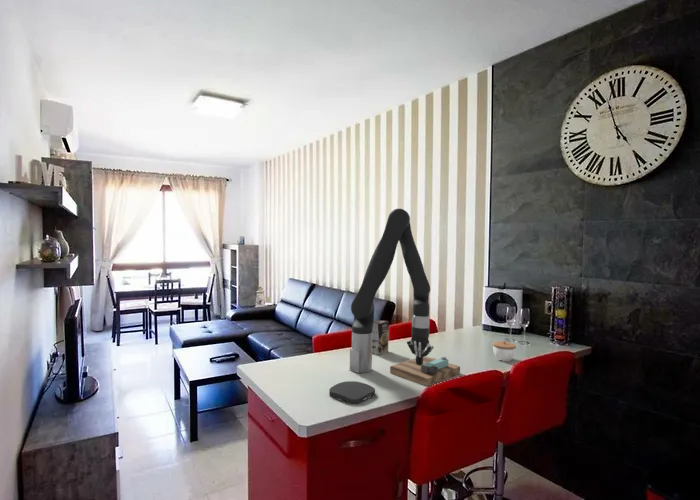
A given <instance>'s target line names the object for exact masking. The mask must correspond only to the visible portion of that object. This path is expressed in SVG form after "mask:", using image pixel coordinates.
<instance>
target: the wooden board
mask: <svg viewBox="0 0 700 500" xmlns="http://www.w3.org/2000/svg"><path fill="white" fill-rule="evenodd" d="M434 360H437V359H436V358H432V357H429V356H425V357H423V364H425V363H428V362H431V361H434ZM389 369H390V371H389V374H392V375H395V376H397V375H398V377H401V378H403V379H406V380H408V379H409V380H408V381H411V382H414V383H417V384H419V383H420V385H423V386H425V387H428V386H431V385H434V384H437V383H438V382H442V381H444V380H446V379H449V378H451V377H455V376H457V375H459V374H460V373H461V366H459V365H456V364H452V363H449V362H448V366H447V367H444V368H441V369H439V370H438V367H435V366H432V367H429V368H428V374H426V373H423V372H421V365H420V366H419V365H417V363H416V357H415V358H413V359H410V360H409V359H408V360H407V361H402V362H400V363H397V364H392V365H390V366H389ZM436 382H437V383H436ZM433 383H434V384H433Z"/></svg>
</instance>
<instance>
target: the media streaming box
mask: <svg viewBox="0 0 700 500" xmlns="http://www.w3.org/2000/svg"><path fill="white" fill-rule="evenodd" d="M328 390H329V392H328V393H329V397H330V398H332V399H334V400H337V401H340V402H342V403H345V404H347V405H360V404H363V403H364V402H367V401H368V399H369V400H371V399H372V398H374V397H376V388H375V387H373V386H372V385H369V384H367V383H364V382H361V381H355V380H354V381H353V380H352V381H351V380H349V381H348V380H347V381H342V382H338V383H336V384H334V385H333V386H331V387H330V388H329V389H328ZM373 396H374V397H373ZM371 397H372V398H371Z"/></svg>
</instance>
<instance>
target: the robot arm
mask: <svg viewBox="0 0 700 500" xmlns="http://www.w3.org/2000/svg"><path fill="white" fill-rule="evenodd" d="M398 244H399V245H400V248H401V253H402V257H403V261H404V264H405V266H406V269H407V270H406V271H407V272H408V276H409V277H410V282H411V284H412V288H413V289H412V290H413V292H412V293H413V304H412V317H411V338H410V340H408V341H406V344H407V346H408V348H409V349H410V351H411V352H410V353H412V354H413V355H415V358H416V363H417V365H419V366H420V365H422V364H423V357H425V356H426V357H428V355H430V354H431V352H432V350H433V349H434V346H433V345H431V344H430V340H429V338H430V304H429V303H430V302H429V299H430V296H429V295H430V292H431V285H430V282H429V279H428V278H427V275H426V273H425V268H424V265H423V264H424V263H423V262H422V258H421V255H420V253H419V250H418V248H417V245H416V243H415V239H414V237H413V232H412V226H411V217H410V214H409V213H408V211H406V210H405V209H403V208H395V209H393V210H392V211H390V212H389V214H388V217H387V221H386V224H385V228H384V230H383V233H382V236H381V238H380V240H379V241H378V243H377V244H376V245H377V246H376V247H375V249H374V252H373V254H372V255H371V258H370V261H369V262H368V266H367V268H366V271H365V274H364V276H363V280H362V283H361V285H360V288H359V289H358V292H356V295H355V297H354V299H353V301H352V302H351V303H350V304H351V305H350V311H351V314H352V315H353V322H352V325H351V348H350V349H349V371H352V372H354V373H357V374H364V373H370V372H372V371H373V369H372V368H373V365H372V364H373V353H372V330H373V323H374V321H375V304H374V299H375V296H376V294H377V292H378V290H379V288H380V287H381V286H382V284H383V282H384V280H386V277H387V275H388V274H389V272H390V270H391V266H392V265H393V261H394V258H395V255H396V251H397V247H398Z"/></svg>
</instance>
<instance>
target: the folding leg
mask: <svg viewBox="0 0 700 500" xmlns="http://www.w3.org/2000/svg"><path fill="white" fill-rule="evenodd" d="M448 363H449V358H447V357H446V356H441V357H440V358H437V359H436V360H434V361H431V362H428V363H425V364H422V365H421V372H423V373H426V374H428V368H429V367H432V366H435V367H438V370H439V369H441V368H444V367H447V366H448Z"/></svg>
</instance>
